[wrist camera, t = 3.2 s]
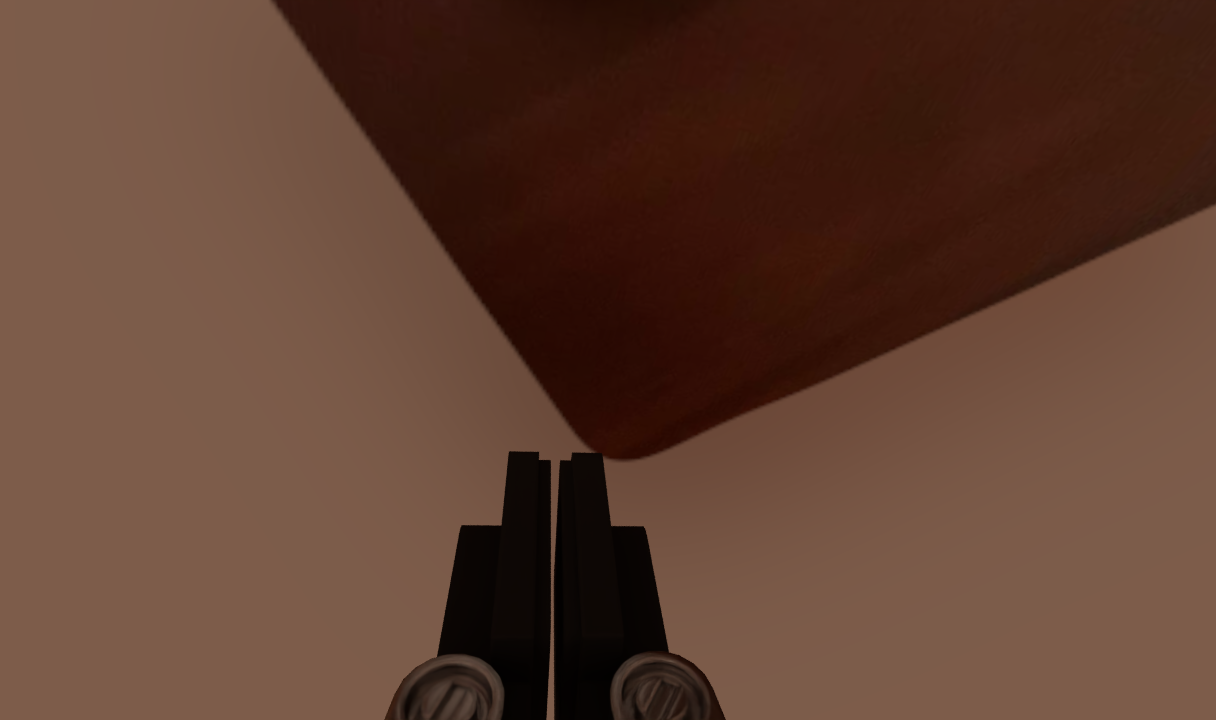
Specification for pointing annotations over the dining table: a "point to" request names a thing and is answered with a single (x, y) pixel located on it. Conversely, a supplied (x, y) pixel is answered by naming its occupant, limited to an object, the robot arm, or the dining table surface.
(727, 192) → the dining table surface
